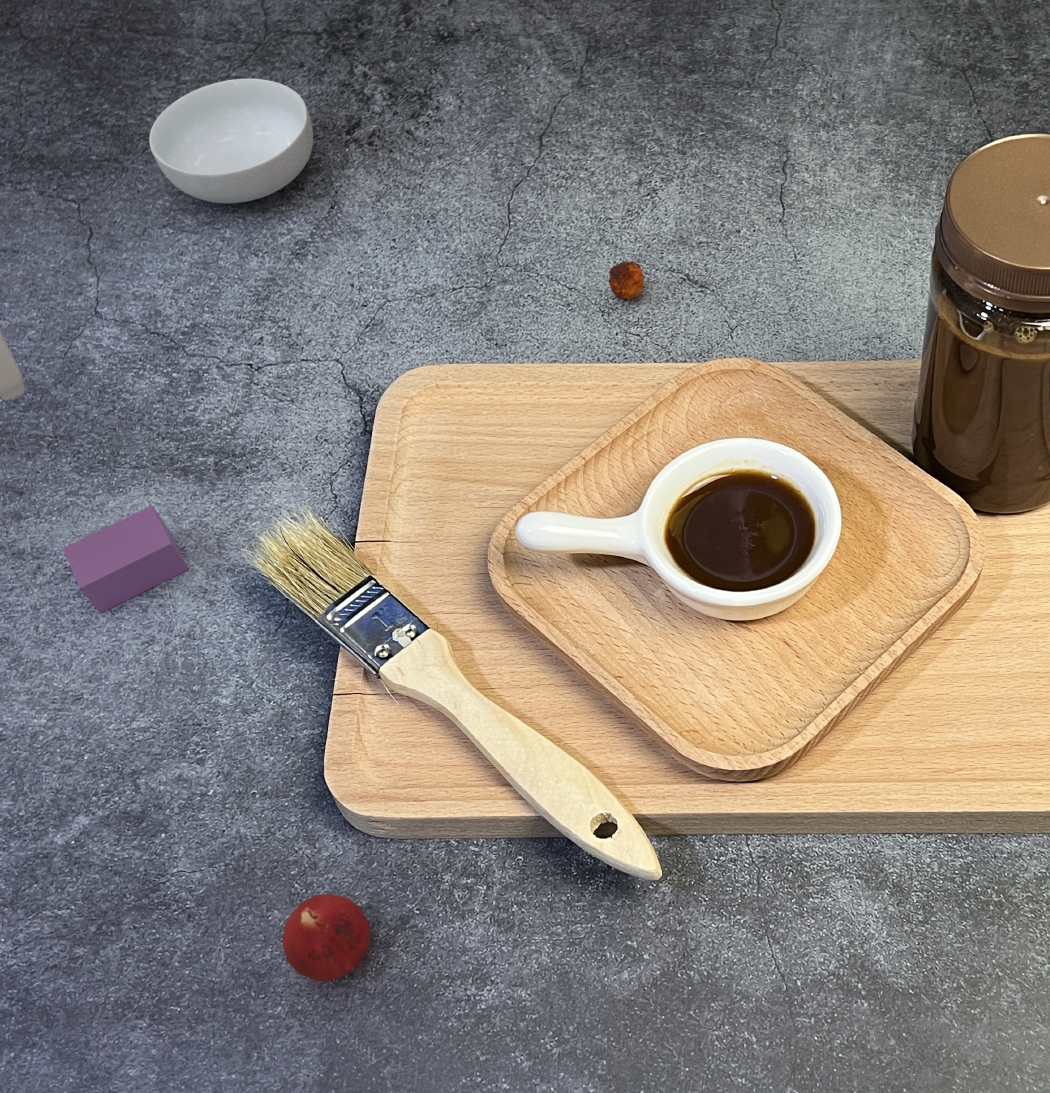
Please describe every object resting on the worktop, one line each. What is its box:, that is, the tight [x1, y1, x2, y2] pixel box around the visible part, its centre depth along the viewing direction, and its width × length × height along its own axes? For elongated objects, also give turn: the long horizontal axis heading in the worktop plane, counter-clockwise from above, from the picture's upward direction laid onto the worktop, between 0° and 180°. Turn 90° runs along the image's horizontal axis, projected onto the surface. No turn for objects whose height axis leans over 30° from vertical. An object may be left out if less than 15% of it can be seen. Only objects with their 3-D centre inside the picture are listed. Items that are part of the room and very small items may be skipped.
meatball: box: [608, 261, 645, 300], centre depth 130 cm, size 4×4×4 cm
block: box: [62, 505, 190, 614], centre depth 112 cm, size 5×8×4 cm, turn 123°
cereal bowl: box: [148, 78, 314, 204], centre depth 141 cm, size 17×17×7 cm
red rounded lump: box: [282, 893, 371, 982], centre depth 91 cm, size 6×6×8 cm
